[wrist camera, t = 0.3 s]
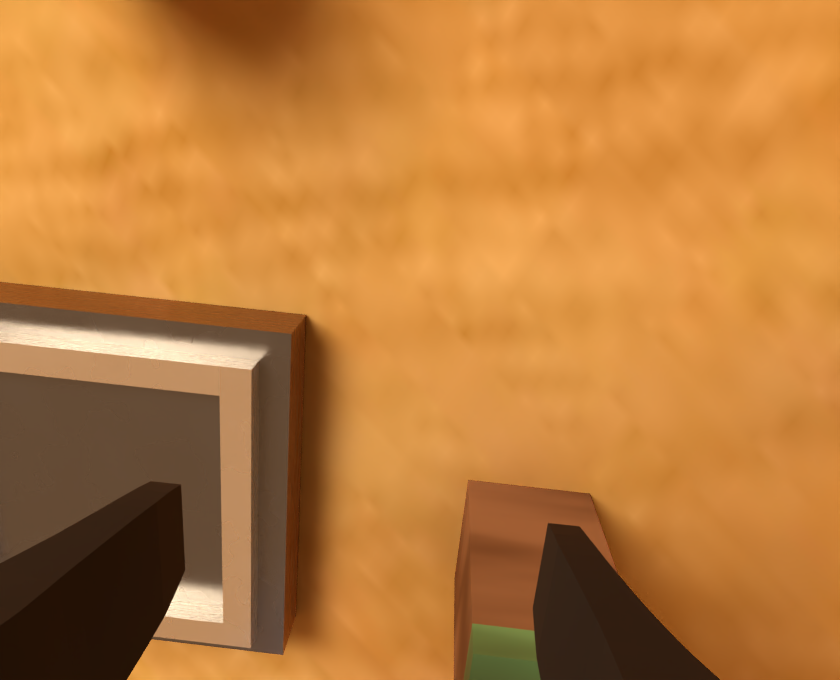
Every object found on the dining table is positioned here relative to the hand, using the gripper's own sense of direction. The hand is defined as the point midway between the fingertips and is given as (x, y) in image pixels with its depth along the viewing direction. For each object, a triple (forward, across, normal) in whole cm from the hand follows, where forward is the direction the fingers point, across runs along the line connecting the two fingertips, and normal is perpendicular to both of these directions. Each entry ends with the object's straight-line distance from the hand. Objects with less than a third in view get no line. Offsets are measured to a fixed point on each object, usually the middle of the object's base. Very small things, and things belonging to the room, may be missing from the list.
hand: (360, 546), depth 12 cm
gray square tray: (+10, +10, +5) cm, 15 cm away
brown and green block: (+10, -5, +7) cm, 13 cm away
